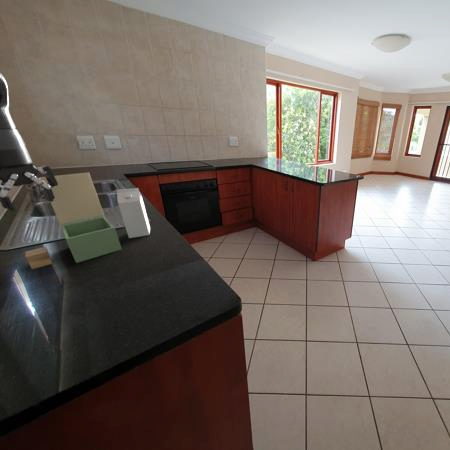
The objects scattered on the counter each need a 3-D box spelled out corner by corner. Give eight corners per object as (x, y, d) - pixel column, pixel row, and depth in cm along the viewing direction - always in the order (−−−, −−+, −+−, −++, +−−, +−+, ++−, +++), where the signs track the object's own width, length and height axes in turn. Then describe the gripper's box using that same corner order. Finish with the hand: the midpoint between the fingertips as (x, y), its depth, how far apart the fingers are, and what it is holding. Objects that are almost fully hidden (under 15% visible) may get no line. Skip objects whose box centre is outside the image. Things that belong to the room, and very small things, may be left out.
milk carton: (131, 232, 99) (117, 187, 92) (150, 228, 102) (139, 186, 95) (128, 238, 94) (114, 192, 86) (149, 235, 97) (137, 190, 89)
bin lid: (89, 172, 86) (87, 171, 89) (39, 177, 77) (39, 176, 81) (104, 215, 92) (101, 213, 95) (60, 224, 83) (59, 221, 86)
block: (31, 264, 77) (25, 251, 75) (51, 258, 80) (45, 246, 78) (32, 269, 74) (25, 256, 72) (52, 263, 77) (46, 251, 75)
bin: (121, 249, 86) (114, 227, 82) (76, 263, 77) (65, 239, 74) (111, 236, 96) (104, 216, 92) (69, 247, 87) (60, 225, 84)
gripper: (33, 144, 70) (55, 197, 76) (-45, 148, 58) (-11, 210, 64) (47, 146, 67) (68, 200, 74) (-31, 150, 55) (2, 215, 62)
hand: (31, 205), depth 69 cm, fingers open, 8 cm apart
